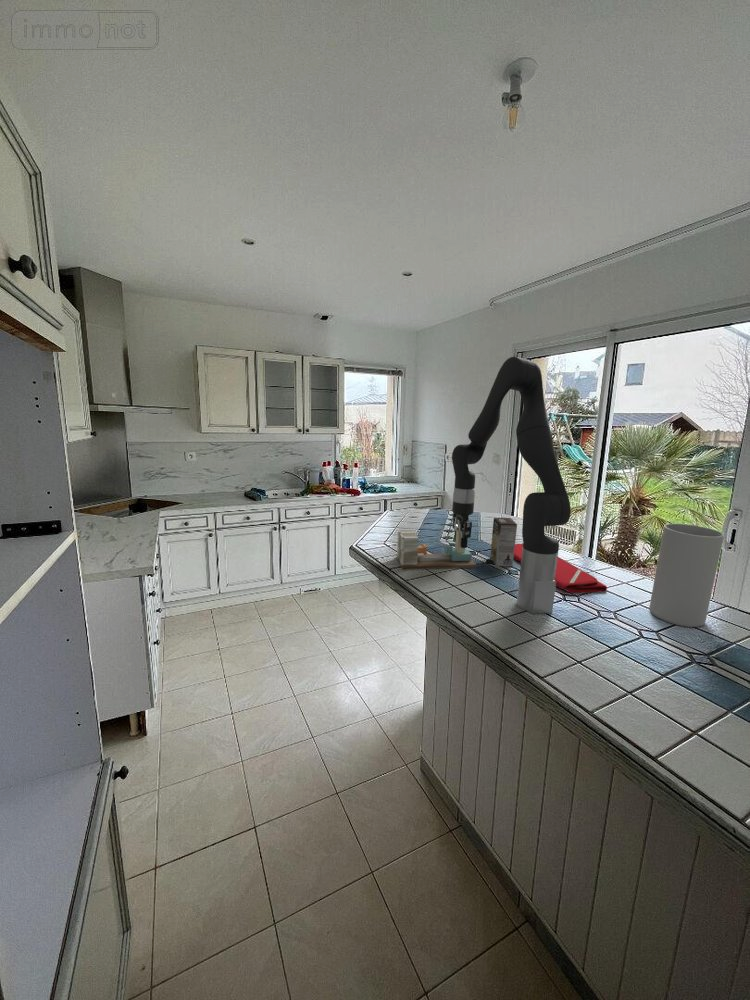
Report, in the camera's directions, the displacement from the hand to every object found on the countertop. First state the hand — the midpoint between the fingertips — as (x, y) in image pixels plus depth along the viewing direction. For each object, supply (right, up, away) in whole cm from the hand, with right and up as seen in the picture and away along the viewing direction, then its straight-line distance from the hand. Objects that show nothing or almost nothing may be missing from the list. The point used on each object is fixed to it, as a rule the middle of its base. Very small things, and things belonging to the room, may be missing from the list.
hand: (460, 544), depth 147 cm
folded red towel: (+31, -9, -2) cm, 32 cm away
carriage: (-1, -5, +1) cm, 6 cm away
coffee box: (+16, -7, +3) cm, 18 cm away
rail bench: (-9, -7, 0) cm, 11 cm away
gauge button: (-16, -3, -1) cm, 16 cm away
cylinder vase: (+52, -16, -36) cm, 65 cm away
